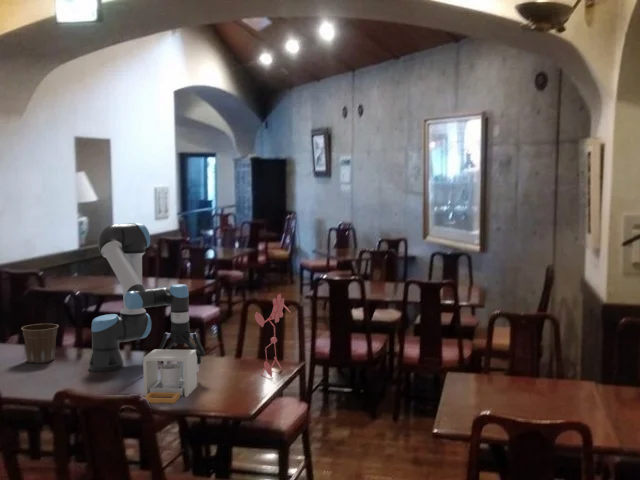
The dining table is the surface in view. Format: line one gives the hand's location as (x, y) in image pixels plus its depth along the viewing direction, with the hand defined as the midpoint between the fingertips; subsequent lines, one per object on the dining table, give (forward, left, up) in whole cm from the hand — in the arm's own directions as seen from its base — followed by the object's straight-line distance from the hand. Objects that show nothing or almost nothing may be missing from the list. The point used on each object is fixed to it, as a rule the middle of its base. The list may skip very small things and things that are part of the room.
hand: (181, 371), depth 299 cm
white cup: (+15, 0, -4) cm, 15 cm away
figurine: (-13, +40, -4) cm, 42 cm away
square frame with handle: (+10, 0, -4) cm, 10 cm away
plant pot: (-30, -76, -4) cm, 82 cm away
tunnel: (+15, 0, -4) cm, 15 cm away
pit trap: (+27, 0, -4) cm, 27 cm away
